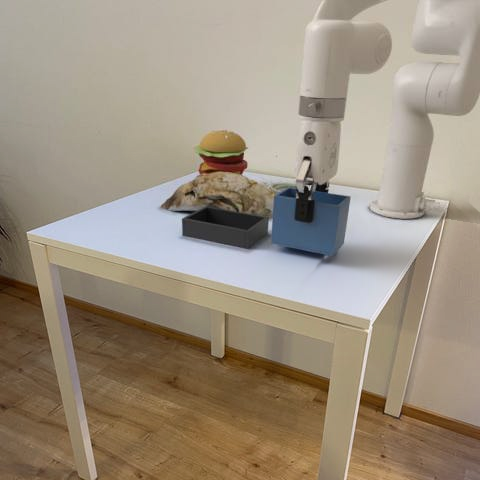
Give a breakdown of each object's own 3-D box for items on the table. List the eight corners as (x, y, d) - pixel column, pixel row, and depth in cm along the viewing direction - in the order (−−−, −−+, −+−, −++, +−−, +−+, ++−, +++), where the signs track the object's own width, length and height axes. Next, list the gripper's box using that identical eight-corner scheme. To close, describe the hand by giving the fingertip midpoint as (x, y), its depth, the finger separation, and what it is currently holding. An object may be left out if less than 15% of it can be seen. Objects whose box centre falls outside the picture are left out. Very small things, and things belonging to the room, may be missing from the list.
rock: (172, 160, 117) (293, 162, 111) (177, 198, 123) (293, 201, 116) (147, 182, 105) (283, 185, 98) (154, 223, 110) (283, 228, 104)
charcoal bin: (267, 236, 98) (268, 217, 96) (247, 251, 91) (248, 231, 89) (206, 224, 103) (206, 205, 101) (182, 237, 96) (181, 218, 94)
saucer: (306, 192, 127) (307, 183, 126) (308, 202, 119) (309, 193, 118) (270, 190, 128) (271, 181, 126) (269, 201, 119) (269, 191, 118)
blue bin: (343, 243, 90) (350, 196, 85) (333, 256, 84) (339, 206, 80) (284, 232, 94) (288, 186, 90) (270, 243, 89) (273, 195, 84)
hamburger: (245, 199, 120) (247, 136, 113) (191, 196, 121) (190, 134, 113) (248, 182, 134) (250, 125, 127) (201, 180, 135) (200, 123, 127)
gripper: (328, 116, 70) (314, 233, 78) (357, 106, 83) (343, 206, 92) (280, 112, 72) (273, 225, 81) (316, 102, 86) (307, 200, 95)
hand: (310, 214), depth 87 cm, fingers closed on blue bin, 7 cm apart
